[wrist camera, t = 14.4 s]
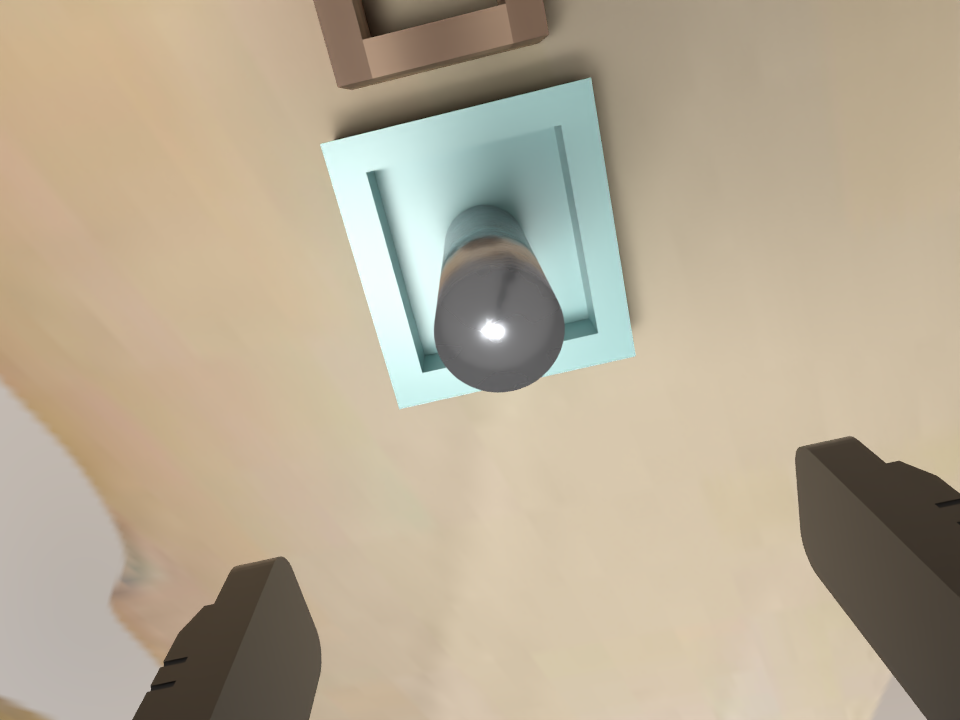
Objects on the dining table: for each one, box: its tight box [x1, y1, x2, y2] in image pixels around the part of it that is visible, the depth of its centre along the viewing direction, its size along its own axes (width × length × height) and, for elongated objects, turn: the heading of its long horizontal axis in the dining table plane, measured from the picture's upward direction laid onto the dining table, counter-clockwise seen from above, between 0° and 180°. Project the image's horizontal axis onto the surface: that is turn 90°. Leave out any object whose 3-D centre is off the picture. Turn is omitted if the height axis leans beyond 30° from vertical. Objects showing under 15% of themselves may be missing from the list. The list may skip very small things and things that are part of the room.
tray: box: [320, 78, 636, 409], centre depth 33 cm, size 12×13×4 cm
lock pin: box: [434, 205, 565, 392], centre depth 27 cm, size 4×4×14 cm
